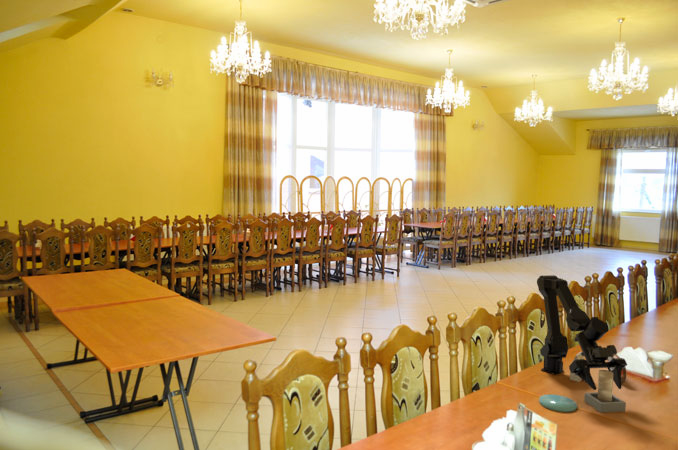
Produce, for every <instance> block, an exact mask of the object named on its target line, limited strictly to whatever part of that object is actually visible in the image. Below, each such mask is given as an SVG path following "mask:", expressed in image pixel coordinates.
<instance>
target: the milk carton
mask: <svg viewBox="0 0 678 450" xmlns="http://www.w3.org/2000/svg"><path fill="white" fill-rule="evenodd" d="M581 353H582V351H580V352H578V353H577V354H576V355H575V357H574V358H573V360H572V362H573V361H574V360H576V359H585V357H584V356H582V355H581ZM569 380H570V381H574V382H577V383H581V382H582V381H584V380H583V379H581V378H580V377H579V376H577V375H575V373H571V372H570V371H569Z"/></svg>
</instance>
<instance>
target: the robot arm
mask: <svg viewBox="0 0 678 450" xmlns="http://www.w3.org/2000/svg"><path fill="white" fill-rule="evenodd" d="M536 284H537V289H538V292H539V293H540V294H541V295H542V297H543V303H544V308H545V309H544V310H545V318H546V319H545V320H546V327H547V333H546V336H545V338H544V344H543V346H541V348H540V349H539V353H540V355H541V356H542V357H543V367H542V368H541V369H540V370H541V371H543V372H546V373H549V374H551V375H554V376H555V375H558V374H561V373H564V372H565V370H564V362H563V358H564V359H566V358H567V355H568V352H569V344H568V338H567V336H565V335H564V334H563V332H562V331H561V323H560V314H559V307H558V299H559V300H560V303H561V305H562V307H563V310H564V311H565V313H566V316H565V317H566V318H565V321H566V324H567V327H568V329H569V330H570V331H571V332H578V333H576V334H575V337H574V339H573V340H574V342H577V343H578V344H579V347H580V349H581V352H582V353H581V355H582V356H583V357H584V359H576V360H574V359H573V360H574V361H573V360H572V362H571V363H569V366H568V368H569V373H570V372H571V373H575V375H577V376H579V377H580V378H581V379H583V380H582V381H583V382H585V383H586V384H587V385H588V386H589V387H590V388H591V389H592V390H593V391H596V390H597V386H596V384H595V381H594V378H593V376H592V374H591V369H604V368H605V369H607V370H608V371H611V372H613V383H614V384H615V386H616V387H617V389H618V390H622V381H621V371H622V369H624V368H625V367H627V366H628V363H627V361H626V359H625V358H623V357H620V358H613V359H612V360H611V361H610V362H608V357H614V356H613V355H614V354H617V355H618V351H617V347H616V345H614V344H609V345H606V346H604V347H603V346H601V345H599V344H598V341H599V340H601V338H602V337H604V335H606V334H608V333H607V332H608V331H609V327H608V324H607V323H605V322H604V321H603V320H601V319H600V318H599V317H598V316H592V317H591V318H590V316H589V315H588V314H587V312H585V311H584V310H583V309H581V308H580V307H579V305H578V303H577V301H576V299H575V297H574V296H573V293H572V291H571V289H570V287H569V283H568V281H567V280H566V279H563V278H559V277H558V276H556V275H554V274H553V275H552V274H551V275H540V276H539V277H538V278H537V279H536ZM557 297H558V298H557Z"/></svg>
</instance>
